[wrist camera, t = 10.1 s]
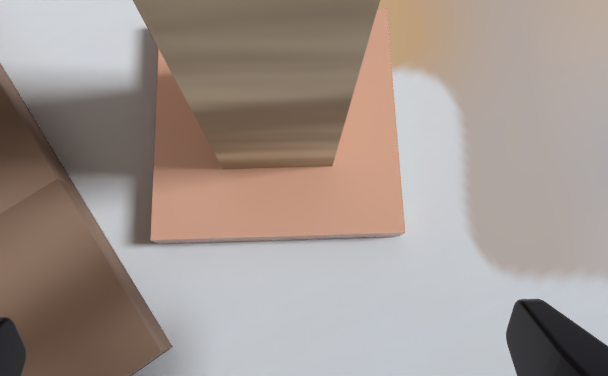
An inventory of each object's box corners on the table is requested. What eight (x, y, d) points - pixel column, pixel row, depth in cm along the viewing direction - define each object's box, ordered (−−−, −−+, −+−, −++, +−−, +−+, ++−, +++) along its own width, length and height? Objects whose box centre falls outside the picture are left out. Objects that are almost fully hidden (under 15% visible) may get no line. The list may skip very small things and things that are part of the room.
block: (332, 166, 17) (410, -107, 6) (223, 169, 17) (77, -103, 6) (327, 66, 18) (386, -342, 7) (223, 69, 18) (99, -342, 7)
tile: (399, 236, 18) (405, 232, 17) (158, 243, 18) (150, 240, 17) (381, 23, 20) (386, 8, 19) (166, 27, 20) (160, 13, 19)
